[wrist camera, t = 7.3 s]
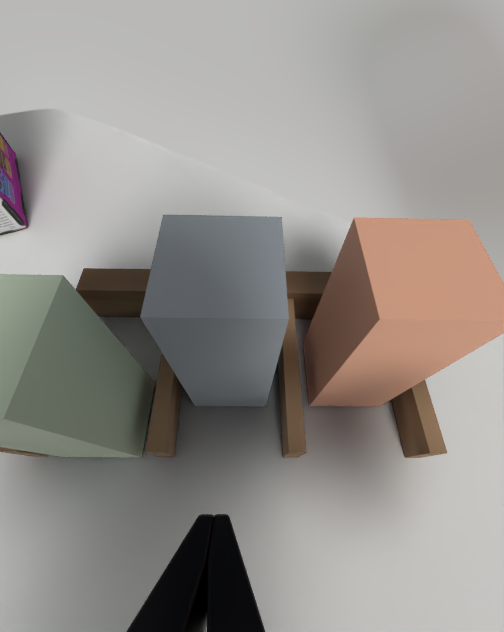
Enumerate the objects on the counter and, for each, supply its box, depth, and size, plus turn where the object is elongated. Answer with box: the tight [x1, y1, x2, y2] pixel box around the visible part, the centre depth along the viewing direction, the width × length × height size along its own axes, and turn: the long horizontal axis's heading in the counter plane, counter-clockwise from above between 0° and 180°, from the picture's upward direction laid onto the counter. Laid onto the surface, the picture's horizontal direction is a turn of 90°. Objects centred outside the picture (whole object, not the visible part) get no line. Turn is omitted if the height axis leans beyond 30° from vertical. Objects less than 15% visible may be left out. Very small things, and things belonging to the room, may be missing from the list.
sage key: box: [0, 274, 155, 457], centre depth 12 cm, size 4×4×10 cm
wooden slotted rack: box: [0, 268, 447, 458], centre depth 16 cm, size 10×20×3 cm, turn 90°
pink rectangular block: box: [303, 218, 504, 407], centre depth 13 cm, size 4×4×10 cm
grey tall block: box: [140, 215, 289, 406], centre depth 13 cm, size 4×4×10 cm
